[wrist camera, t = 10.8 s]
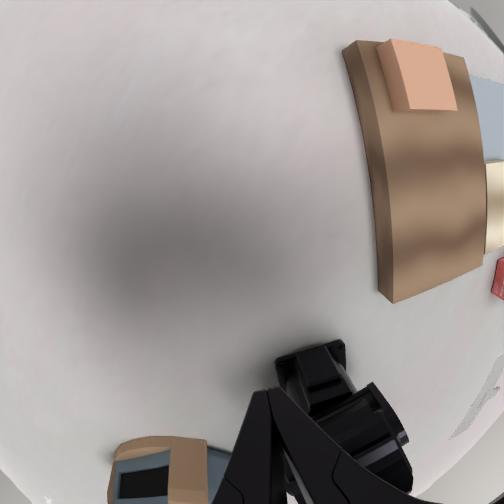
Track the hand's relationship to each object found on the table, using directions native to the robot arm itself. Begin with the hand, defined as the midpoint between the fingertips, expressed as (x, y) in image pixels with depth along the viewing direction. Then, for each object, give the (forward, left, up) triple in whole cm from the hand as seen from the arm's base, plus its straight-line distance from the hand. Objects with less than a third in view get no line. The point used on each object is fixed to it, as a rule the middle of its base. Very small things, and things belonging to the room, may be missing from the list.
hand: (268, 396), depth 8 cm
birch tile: (0, -26, -13) cm, 29 cm away
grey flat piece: (-42, -35, -14) cm, 57 cm away
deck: (+4, -17, -13) cm, 22 cm away
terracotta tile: (+11, -15, -10) cm, 21 cm away
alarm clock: (-29, +15, -13) cm, 35 cm away
